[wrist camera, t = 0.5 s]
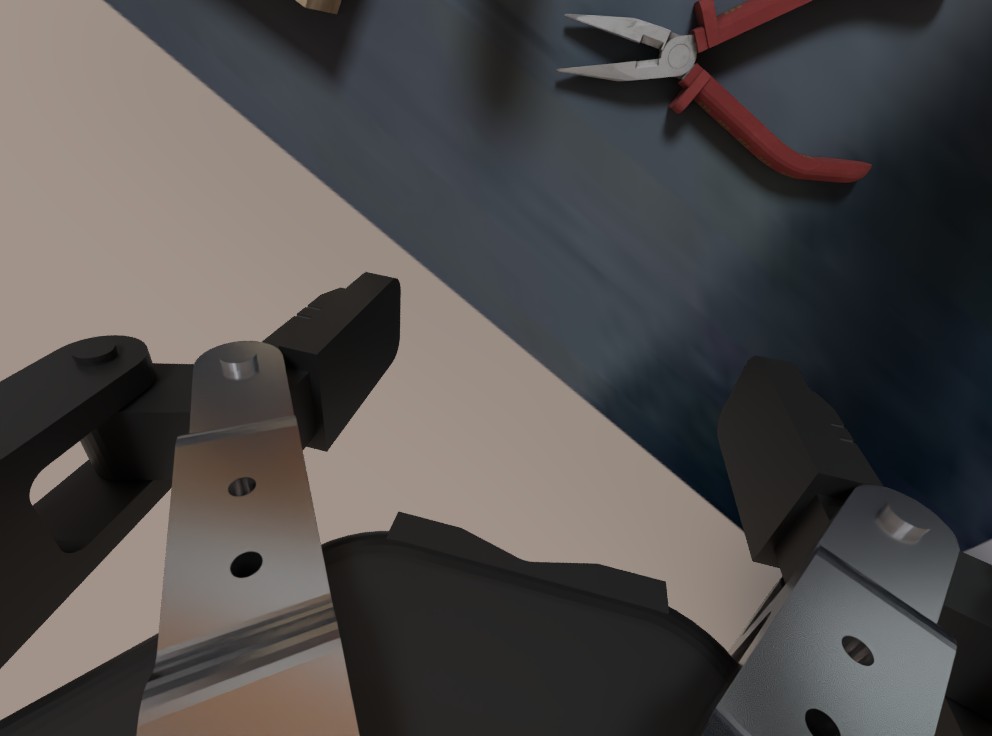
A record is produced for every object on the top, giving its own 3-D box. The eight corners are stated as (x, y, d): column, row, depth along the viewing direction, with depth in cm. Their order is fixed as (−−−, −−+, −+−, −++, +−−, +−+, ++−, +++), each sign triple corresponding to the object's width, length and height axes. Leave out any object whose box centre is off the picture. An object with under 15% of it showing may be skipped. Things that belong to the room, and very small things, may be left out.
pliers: (579, -77, 27) (576, -90, 25) (959, -45, 25) (993, -56, 23) (547, 142, 33) (543, 147, 31) (849, 183, 31) (867, 191, 29)
